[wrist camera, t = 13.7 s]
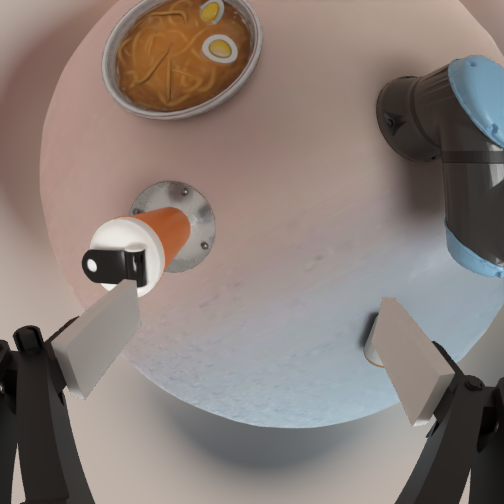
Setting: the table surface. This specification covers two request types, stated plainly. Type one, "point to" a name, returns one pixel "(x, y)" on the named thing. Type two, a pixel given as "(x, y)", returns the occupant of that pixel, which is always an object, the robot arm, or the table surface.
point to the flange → (195, 212)
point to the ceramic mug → (372, 349)
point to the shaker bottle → (136, 248)
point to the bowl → (180, 56)
